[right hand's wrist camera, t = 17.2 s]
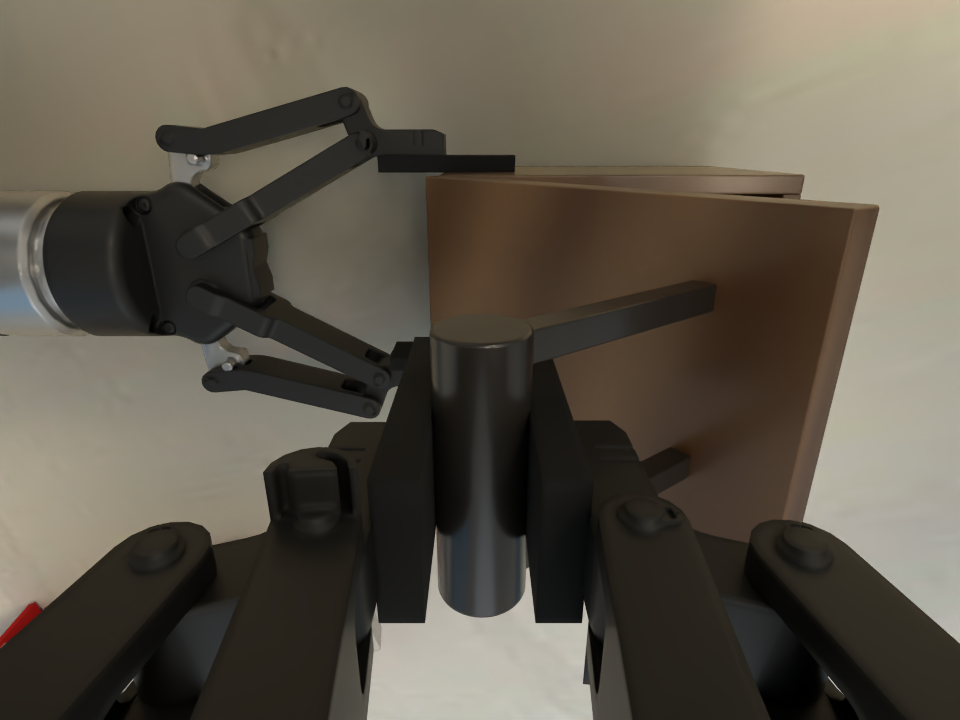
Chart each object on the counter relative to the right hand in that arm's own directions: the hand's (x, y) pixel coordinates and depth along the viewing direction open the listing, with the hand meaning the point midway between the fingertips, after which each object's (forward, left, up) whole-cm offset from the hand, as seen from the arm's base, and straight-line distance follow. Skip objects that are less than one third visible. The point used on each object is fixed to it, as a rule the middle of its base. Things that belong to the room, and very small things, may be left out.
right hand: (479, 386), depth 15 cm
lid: (-2, +3, -5) cm, 6 cm away
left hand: (-1, +1, -16) cm, 16 cm away
